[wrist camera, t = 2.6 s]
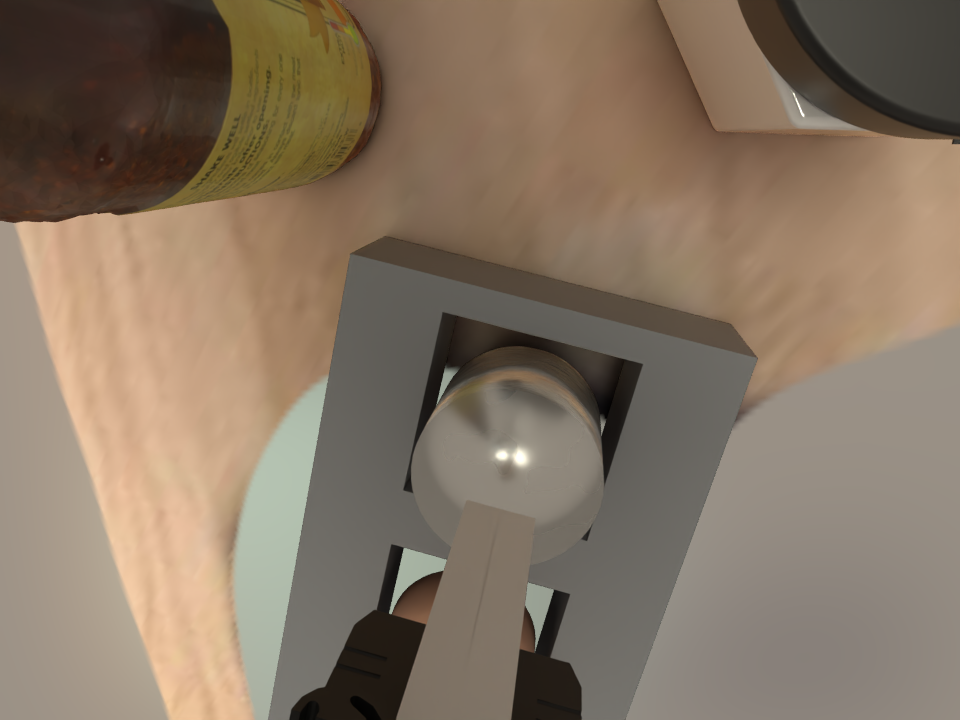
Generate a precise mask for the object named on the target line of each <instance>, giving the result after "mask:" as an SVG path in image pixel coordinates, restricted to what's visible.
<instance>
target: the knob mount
mask: <svg viewBox="0 0 960 720" xmlns="http://www.w3.org/2000/svg"><path fill="white" fill-rule="evenodd" d="M456 316H460V317H464V318H468V319H472V320H476V321H480V322H483V323H487V324H491V325H495V326H499V327H503V328H507V329H510V330H514V331H518V332H522V333H526V334H530V335H534V336H537V337H541V338H545V339H549V340H553V341H557V342H560V343H564V344H568V345H572V346H576V347H580V348H584V349H587V350H591V351H595V352H599V353H603V354H607V355H611V356H614V357H618V358H622V359H625V361H624V365H623V368H622V371H621V374H620V378H619V381H618V384H617V387H616V391H615V394H614V397H613V400H612V404H611V407H610V410H609V413H608V417H607V420H606V423H605V426H604V430H603V433H602V436H601V440H602V457H603V474H604V490H603V498H602V502H601V506H600V509H599V511H598V514H597V516H596V518H595V520H594V522H593V524H592V525H591V527H590V528H589V530H588V531H587V532H586V534H585V535H584V536H583V537H582V538H581V539H580V540H579V541H578V542H577V543H576V544H575V545H574V546H572V547H571V548H569V549H568V550H567V551H565V552H564V553H562V554H560V555H558V556H556V557H554V558H552V559H549V560H547V561H544V562H540V563H536V564H532V565H530V567H529V575H528V582H529V583H533V584H536V585H540V586H544V587H547V588H551V589H554V592H553V596H552V599H551V602H550V605H549V609H548V612H547V615H546V618H545V622H544V625H543V628H542V631H541V634H540V638H539V641H538V644H537V647H536V651H535V653H536V654H540V655H543V656H547V657H550V658H554V659H557V660H561V661H564V662H568V663H570V664H571V666H572V668H573V670H574V672H575V675H576V677H577V679H578V681H579V683H580V685H581V687H582V712H581V716H582V720H625V719H626V716H627V714H628V711H629V708H630V705H631V703H632V700H633V697H634V695H635V692H636V689H637V686H638V684H639V681H640V678H641V675H642V673H643V670H644V667H645V665H646V662H647V659H648V656H649V653H650V651H651V648H652V646H653V642H654V640H655V637H656V635H657V632H658V629H659V626H660V624H661V621H662V618H663V616H664V613H665V610H666V607H667V605H668V602H669V599H670V596H671V594H672V591H673V588H674V585H675V583H676V580H677V577H678V575H679V572H680V569H681V566H682V564H683V561H684V558H685V556H686V553H687V550H688V547H689V545H690V542H691V539H692V536H693V533H694V531H695V528H696V526H697V523H698V520H699V517H700V515H701V512H702V509H703V507H704V504H705V501H706V498H707V496H708V493H709V490H710V487H711V485H712V482H713V479H714V477H715V474H716V471H717V468H718V466H719V463H720V460H721V457H722V455H723V452H724V449H725V446H726V444H727V441H728V438H729V436H730V433H731V430H732V427H733V425H734V422H735V419H736V417H737V414H738V411H739V408H740V406H741V403H742V400H743V397H744V395H745V392H746V389H747V387H748V384H749V381H750V378H751V376H752V373H753V370H754V367H755V365H756V362H757V359H758V358H757V357H756V355H755V354H754V353H753V351H752V350H751V349H750V348H749V346H748V345H747V344H746V343H745V341H744V340H743V339H742V338H741V336H740V335H739V334H738V332H737V331H736V330H735V329H734V327H733V326H732V325H731V324H728V323H724V322H720V321H716V320H712V319H708V318H704V317H700V316H696V315H692V314H689V313H685V312H681V311H677V310H673V309H669V308H665V307H661V306H657V305H653V304H649V303H645V302H641V301H638V300H634V299H630V298H626V297H622V296H618V295H614V294H610V293H606V292H602V291H598V290H594V289H590V288H586V287H583V286H579V285H575V284H571V283H567V282H563V281H559V280H555V279H551V278H547V277H543V276H539V275H535V274H532V273H528V272H524V271H520V270H516V269H512V268H508V267H504V266H500V265H496V264H492V263H488V262H484V261H481V260H477V259H473V258H469V257H465V256H461V255H457V254H453V253H449V252H445V251H441V250H437V249H433V248H429V247H426V246H422V245H418V244H414V243H410V242H406V241H402V240H398V239H394V238H390V237H386V236H385V237H383V238H381V239H379V240H377V241H375V242H373V243H371V244H369V245H367V246H365V247H363V248H361V249H359V250H357V251H355V252H353V253H351V254H350V259H349V265H348V270H347V276H346V282H345V287H344V293H343V299H342V304H341V310H340V316H339V321H338V327H337V333H336V338H335V344H334V349H333V355H332V361H331V366H330V372H329V378H328V383H327V389H326V395H325V401H324V407H323V412H322V417H321V423H320V429H319V435H318V440H317V446H316V451H315V457H314V463H313V468H312V474H311V480H310V486H309V491H308V497H307V503H306V508H305V514H304V519H303V525H302V531H301V536H300V542H299V548H298V553H297V559H296V565H295V571H294V576H293V582H292V587H291V593H290V599H289V604H288V610H287V616H286V621H285V627H284V633H283V638H282V644H281V650H280V655H279V661H278V667H277V672H276V678H275V684H274V689H273V695H272V701H271V706H270V712H269V718H268V720H289V718H290V713H291V709H292V708H293V707H294V705H295V704H296V703H297V702H298V701H299V699H300V698H301V697H302V696H304V695H306V694H308V693H309V692H311V691H313V690H315V689H317V688H322V687H325V686H326V684H327V681H328V679H329V677H330V675H331V673H332V671H333V669H334V667H335V666H336V662H337V660H338V658H339V656H340V654H341V652H342V650H343V649H344V646H345V643H346V641H347V639H348V637H349V635H350V633H351V631H352V628H353V626H354V624H356V623H357V622H358V621H360V620H361V619H362V618H364V617H365V616H366V615H368V614H369V613H370V612H372V611H373V610H378V611H381V612H385V613H388V614H389V610H390V606H391V602H392V597H393V593H394V588H395V584H396V580H397V575H398V571H399V566H400V562H401V558H402V553H403V549H404V548H408V549H411V550H415V551H418V552H422V553H425V554H429V555H433V556H436V557H440V558H443V559H448V556H449V553H450V550H451V546H449V545H448V544H447V543H446V542H444V541H443V540H442V539H441V538H440V537H439V536H438V535H437V534H436V533H435V532H434V531H433V530H432V528H431V527H430V526H429V525H428V523H427V522H426V520H425V519H424V517H423V515H422V514H421V512H420V510H419V507H418V505H417V503H416V500H415V496H414V493H413V489H412V481H411V465H412V458H413V453H414V450H415V447H416V444H417V442H418V440H419V437H420V435H421V433H422V431H423V430H424V428H425V426H426V424H427V422H428V420H429V419H430V417H431V415H432V413H433V411H434V410H435V408H436V404H437V400H438V395H439V391H440V386H441V382H442V378H443V373H444V369H445V365H446V360H447V356H448V351H449V347H450V343H451V338H452V334H453V330H454V325H455V321H456Z"/></svg>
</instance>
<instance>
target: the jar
mask: <svg viewBox="0 0 960 720" xmlns="http://www.w3.org/2000/svg"><path fill="white" fill-rule="evenodd" d="M657 1H658V4H659V6H660V8H661V10H662V13H663V15H664V17H665V19H666V22H667V24H668V26H669V28H670V31H671V33H672V35H673V37H674V40H675V42H676V44H677V46H678V49H679V51H680V53H681V56H682V58H683V60H684V62H685V65H686V67H687V69H688V71H689V74H690V76H691V78H692V80H693V83H694V85H695V87H696V90H697V92H698V94H699V96H700V99H701V101H702V103H703V105H704V108H705V110H706V112H707V115H708V117H709V119H710V121H711V124H712V126H713V128H714V129H715V130H716V131H719V132H738V133H770V134H802V135H833V136H895V137H904V138H913V139H953V141H952V144H960V0H657Z"/></svg>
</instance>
